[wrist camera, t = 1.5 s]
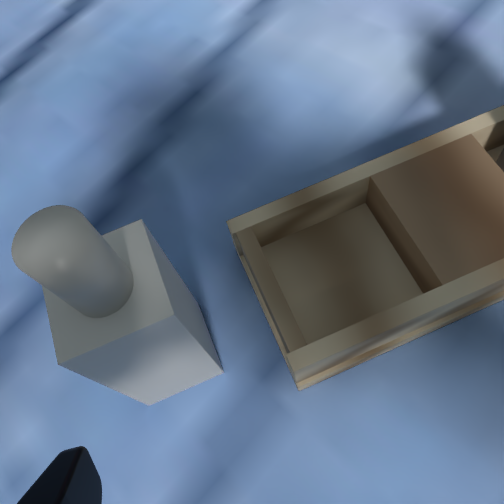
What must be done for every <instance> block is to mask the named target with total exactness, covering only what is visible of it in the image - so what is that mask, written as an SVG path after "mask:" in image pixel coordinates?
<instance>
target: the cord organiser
mask: <svg viewBox="0 0 504 504" xmlns="http://www.w3.org/2000/svg"><path fill="white" fill-rule="evenodd" d="M503 148H504V105H503V106H500V107H498V108H496V109H493V110H491V111H488V112H486V113H484V114H481V115H479V116H476V117H474V118H472V119H469V120H467V121H464V122H462V123H460V124H457V125H455V126H452V127H450V128H448V129H445V130H443V131H441V132H438V133H436V134H433V135H431V136H429V137H426V138H424V139H421V140H419V141H417V142H414V143H412V144H409V145H407V146H405V147H402V148H400V149H397V150H395V151H393V152H390V153H388V154H386V155H383V156H381V157H378V158H376V159H374V160H371V161H369V162H366V163H364V164H362V165H359V166H357V167H354V168H352V169H350V170H347V171H345V172H342V173H340V174H338V175H335V176H333V177H331V178H328V179H326V180H323V181H321V182H319V183H316V184H314V185H311V186H309V187H307V188H304V189H302V190H299V191H297V192H295V193H292V194H290V195H287V196H285V197H283V198H280V199H278V200H276V201H273V202H271V203H268V204H266V205H264V206H261V207H259V208H256V209H254V210H252V211H249V212H247V213H244V214H242V215H240V216H237V217H235V218H232V219H230V220H228V221H226V222H227V225H228V228H229V231H230V234H231V236H232V239H233V243H234V246H235V249H236V251H237V253H238V256H239V258H240V260H241V262H242V265H243V267H244V269H245V271H246V274H247V276H248V278H249V280H250V283H251V285H252V287H253V289H254V292H255V294H256V296H257V298H258V301H259V303H260V305H261V307H262V310H263V312H264V314H265V316H266V319H267V321H268V323H269V325H270V328H271V330H272V332H273V334H274V337H275V339H276V341H277V343H278V346H279V348H280V350H281V352H282V355H283V357H284V359H285V361H286V364H287V366H288V368H289V370H290V373H291V375H292V377H293V379H294V382H295V384H296V386H297V388H298V391H301V390H303V389H305V388H307V387H310V386H312V385H314V384H316V383H318V382H321V381H323V380H325V379H327V378H330V377H332V376H334V375H336V374H339V373H341V372H343V371H345V370H348V369H350V368H352V367H354V366H356V365H359V364H361V363H363V362H365V361H368V360H370V359H372V358H374V357H377V356H379V355H381V354H383V353H385V352H388V351H390V350H392V349H394V348H397V347H399V346H401V345H403V344H406V343H408V342H410V341H412V340H415V339H417V338H419V337H421V336H423V335H426V334H428V333H430V332H432V331H435V330H437V329H439V328H441V327H444V326H446V325H448V324H450V323H452V322H455V321H457V320H459V319H461V318H464V317H466V316H468V315H470V314H473V313H475V312H477V311H479V310H482V309H484V308H486V307H488V306H490V305H493V304H495V303H497V302H499V301H502V300H504V172H503V171H502V169H501V168H500V167H499V166H498V165H497V163H496V161H497V159H498V157H499V155H500V154H501V152H502V150H503Z"/></svg>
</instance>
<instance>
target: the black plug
mask: <svg viewBox="0 0 504 504" xmlns="http://www.w3.org/2000/svg"><path fill="white" fill-rule="evenodd" d="M496 163H497V165H498V166H499V167H500V168H501V169H502V171H503V172H504V148H503V150H502V152H501V154H500V155H499V157H498V159H497V161H496Z"/></svg>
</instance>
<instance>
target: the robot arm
mask: <svg viewBox="0 0 504 504" xmlns="http://www.w3.org/2000/svg"><path fill="white" fill-rule="evenodd" d="M17 504H102V484H101V479H100V476H99V474H98V472H97V470H96V467H95V465H94V463H93V461H92V459H91V456H90V454H89V452H88V450H87V449H86V448H85V447H83V446H79V447H75V448H71V449H68V450H64V451H62V452H61V453H59V454H58V456H57V457H56V458H55V459H54V460H53V461H52V463H51V464H50V465H49V466H48V467H47V469H46V470H45V471H44V472H43V473H42V474H41V476H40V477H39V478H38V479H37V480H36V482H35V483H34V484H33V485H32V486H31V487H30V489H29V490H28V491H27V492H26V493H25V495H24V496H23V497H22V498H21V499H20V500H19V502H18V503H17Z"/></svg>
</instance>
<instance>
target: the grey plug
mask: <svg viewBox="0 0 504 504" xmlns="http://www.w3.org/2000/svg"><path fill="white" fill-rule="evenodd" d="M12 257H13V260H14V262H15V264H16V266H17V267H18V268H19V269H20V270H21V271H23V272H24V273H26V274H27V275H28V276H30V277H31V278H33V279H34V280H35V281H37V282H38V283H40V284H41V285H42V287H43V292H44V297H45V302H46V307H47V312H48V317H49V322H50V327H51V332H52V337H53V342H54V347H55V352H56V357H57V362H58V365H60V366H62V367H65V368H67V369H69V370H71V371H73V372H76V373H78V374H80V375H82V376H85V377H87V378H89V379H91V380H93V381H96V382H98V383H100V384H102V385H104V386H107V387H109V388H111V389H113V390H115V391H118V392H120V393H122V394H124V395H126V396H129V397H131V398H133V399H135V400H137V401H140V402H142V403H144V404H146V405H148V406H150V405H152V404H154V403H156V402H159V401H161V400H163V399H165V398H168V397H170V396H172V395H175V394H177V393H179V392H181V391H184V390H186V389H188V388H190V387H193V386H195V385H197V384H200V383H202V382H204V381H206V380H209V379H211V378H213V377H215V376H218V375H220V374H222V373H224V371H223V368H222V366H221V363H220V360H219V358H218V355H217V352H216V350H215V347H214V344H213V342H212V339H211V336H210V334H209V331H208V328H207V326H206V323H205V320H204V318H203V315H202V312H201V310H200V307H199V304H198V302H197V301H196V300H195V298H194V297H193V295H192V294H191V292H190V291H189V289H188V288H187V286H186V285H185V283H184V282H183V280H182V279H181V277H180V276H179V274H178V273H177V271H176V270H175V268H174V267H173V265H172V264H171V262H170V261H169V259H168V258H167V256H166V255H165V253H164V252H163V250H162V249H161V247H160V246H159V244H158V243H157V241H156V240H155V238H154V237H153V235H152V234H151V232H150V231H149V229H148V228H147V226H146V225H145V223H144V222H143V220H142V219H140V220H138V221H135V222H133V223H131V224H128V225H126V226H123V227H121V228H118V229H116V230H114V231H111V232H109V233H106V234H104V235H102V236H101V235H100V234H99V233H98V231H97V230H96V229H95V228H94V227H93V226H92V225H91V223H90V222H89V221H88V220H87V219H86V218H85V217H84V215H83V214H82V213H81V212H79V211H78V210H77V209H75V208H72V207H69V206H64V205H56V206H51V207H47V208H44V209H42V210H39V211H38V212H36V213H34V214H33V215H31V216H30V217H29V218H28V219H27V220H25V222H24V223H23V224H22V225H21V226H20V228H19V229H18V231H17V232H16V234H15V236H14V239H13V243H12Z"/></svg>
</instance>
